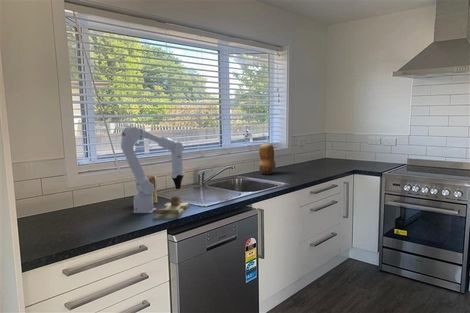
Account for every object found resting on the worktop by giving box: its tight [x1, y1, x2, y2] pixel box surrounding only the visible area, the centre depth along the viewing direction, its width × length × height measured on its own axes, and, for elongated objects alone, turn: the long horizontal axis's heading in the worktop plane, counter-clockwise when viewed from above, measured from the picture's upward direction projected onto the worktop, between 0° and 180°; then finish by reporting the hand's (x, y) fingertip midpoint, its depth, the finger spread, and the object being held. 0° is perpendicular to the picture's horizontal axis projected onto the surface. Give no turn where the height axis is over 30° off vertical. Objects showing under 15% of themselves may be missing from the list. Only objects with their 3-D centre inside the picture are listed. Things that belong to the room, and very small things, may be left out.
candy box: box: [145, 175, 158, 204], centre depth 197 cm, size 9×4×15 cm, turn 96°
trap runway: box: [153, 202, 190, 219], centre depth 177 cm, size 12×22×4 cm, turn 175°
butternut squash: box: [258, 142, 276, 175], centre depth 280 cm, size 14×13×25 cm
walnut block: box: [170, 195, 181, 206], centre depth 184 cm, size 4×4×4 cm
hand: (178, 188), depth 189 cm, fingers closed
